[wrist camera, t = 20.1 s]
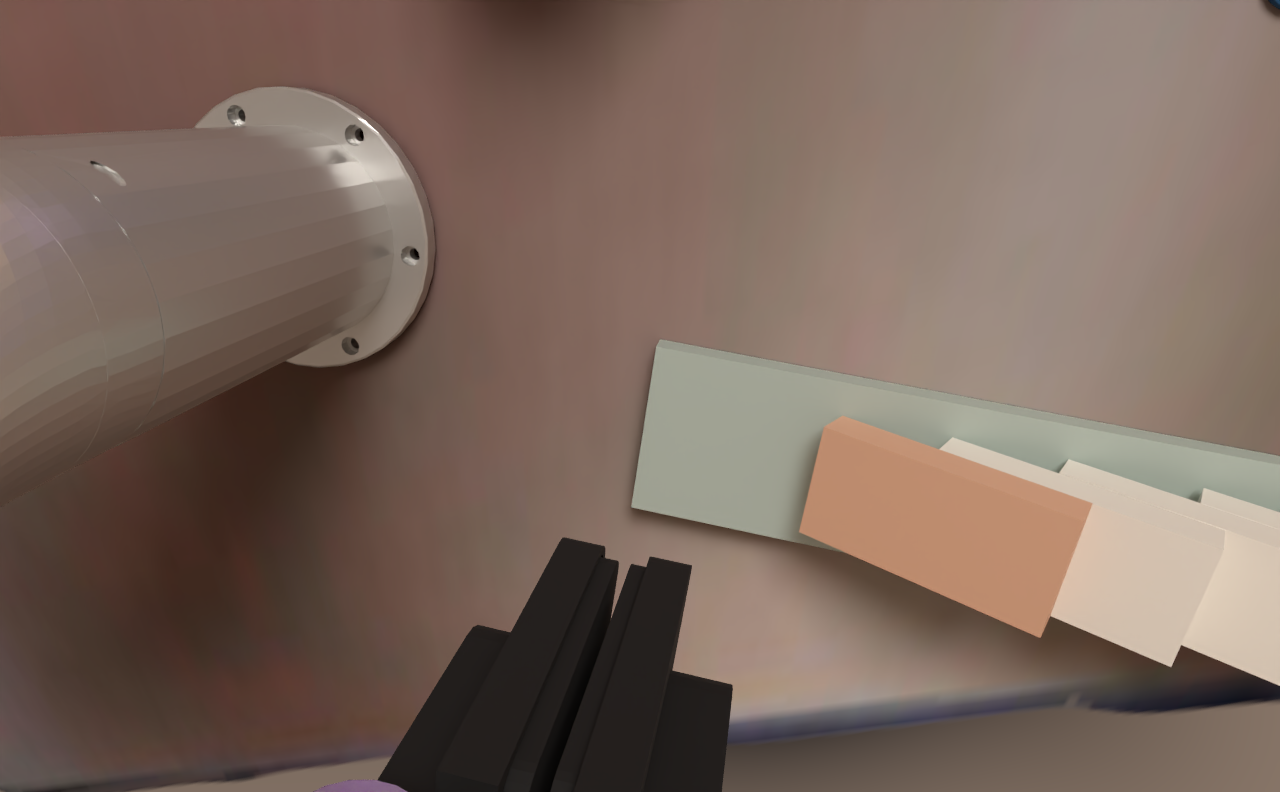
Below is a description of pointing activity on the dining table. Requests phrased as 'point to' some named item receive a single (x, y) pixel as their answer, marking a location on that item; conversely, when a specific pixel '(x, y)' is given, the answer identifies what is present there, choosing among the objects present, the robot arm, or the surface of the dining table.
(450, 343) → the dining table surface
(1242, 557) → the domino
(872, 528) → the domino
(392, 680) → the dining table surface
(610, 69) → the dining table surface
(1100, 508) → the domino
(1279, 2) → the smartphone
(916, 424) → the board
